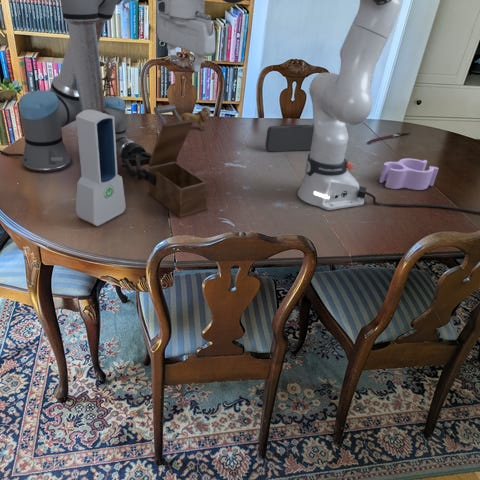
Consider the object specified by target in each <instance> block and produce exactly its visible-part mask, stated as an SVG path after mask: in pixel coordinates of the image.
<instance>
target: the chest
mask: <svg viewBox="0 0 480 480" xmlns="http://www.w3.org/2000/svg"><path fill="white" fill-rule="evenodd" d="M148 172H150V173H151V174H153V175H154V176H155V177H156V185H153V184H151V183H150V182H148V188H149V190H148V191H149V195H150V196H151V197H153V198H154V199H155V200H157V201H159V203H160V204H162V205H163V206H164V207H165V208H167V209H168V210H170V212H172V213H174V215H176V216H177V217H179V218H183V217H186V216H190V215H193V214H196V213H199V212H202V211H206V210H207V195H208V194H207V193H208V182H207V181H206V180H204V179H203V178H201V177H200V176H198V175H197V174H196V173H194V172H192V171H191V170H189V169H188V168H186V167H184V166H183V165H182V164H180V163H178V161H177V162H170V163H166V164H162V165H155V166H151V167H149V166H148Z"/></svg>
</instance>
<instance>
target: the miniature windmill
mask: <svg viewBox="0 0 480 480" xmlns="http://www.w3.org/2000/svg"><path fill="white" fill-rule="evenodd" d="M108 56H109V57H108ZM100 67H103V68H104V73H105V76H104V77H102V81H103V83H104V84H102V85H103V94H104V98H106V97H117V95H116V91H115V86H114V85H115V84H114V83H113V81H116V80H117V77H114V76H113V75H114V73H115V72H114V71H116V69H115V67H116V65H115V59H114V55H112V52H108V53H107V54H106V56H105V59H104V62H103V61H101V60H100ZM111 89H112V91H111ZM112 92H113V94H112Z"/></svg>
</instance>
